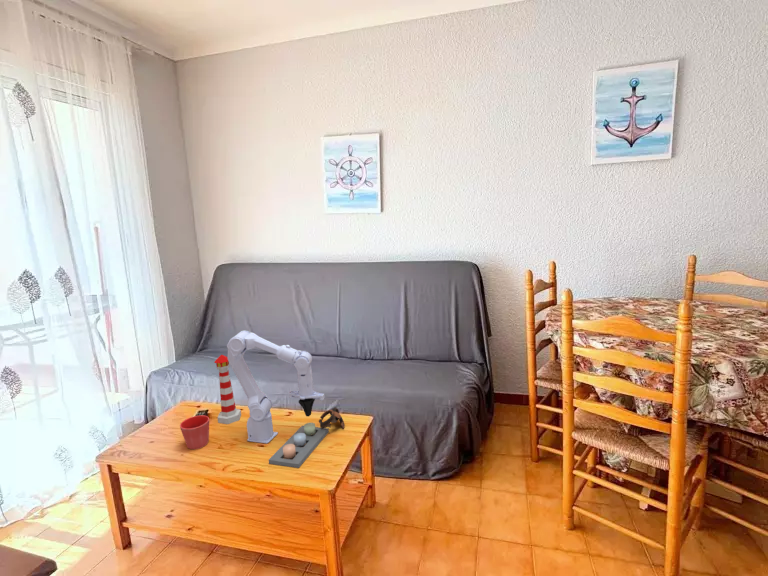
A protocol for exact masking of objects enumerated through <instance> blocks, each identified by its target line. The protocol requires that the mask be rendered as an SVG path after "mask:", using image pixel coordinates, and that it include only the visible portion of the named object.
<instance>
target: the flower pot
mask: <svg viewBox="0 0 768 576" xmlns="http://www.w3.org/2000/svg"><path fill="white" fill-rule="evenodd" d="M179 427H180V431H181V434H182V436H183V439H184V442H185V444H186V447H187V448H188V449H190V450H198V449H201V448H204V447H205V446H207V444H208V443H209V438H210V418H209V416H207V415H203V414H202V415H195V416H191V417H188V418H186V419H184V420H183V421H182V422H180V425H179Z"/></svg>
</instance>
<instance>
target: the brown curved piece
mask: <svg viewBox="0 0 768 576" xmlns="http://www.w3.org/2000/svg"><path fill="white" fill-rule="evenodd" d="M328 415H330V416H329V417H328V419H326V420H325V421H324V418H326V416H328ZM337 422H339V423H340V426H341V428H342V430H343V429H345V422H344V419H343V417H342V415H341V414H340V411H339V409H338V408H337V407H333V408H332V409H328V410H326V411H324V412H323V413H322V415H321V416H320V417H319V420H318V423H319V427H320V428H331V424H335V423H337Z"/></svg>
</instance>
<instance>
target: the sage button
mask: <svg viewBox="0 0 768 576" xmlns="http://www.w3.org/2000/svg"><path fill="white" fill-rule="evenodd" d="M303 426H304V433H305V435H306V436H314V435H315V434H316V430H315V427H316V424H315V423H314V422H307V423H305V424H304V425H303Z"/></svg>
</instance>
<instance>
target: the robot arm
mask: <svg viewBox="0 0 768 576" xmlns="http://www.w3.org/2000/svg"><path fill="white" fill-rule="evenodd" d="M226 348H227V357H228V361H229V366H230V367H231V369H232V371H233V372H234V375H235V376H236V379H237V380H238V383H239V384H240V386H241V389H242V390H243V392H244V394H245V396H246V398H247V408H248V411H249V417H248V418H247V422H246V430H247V432H246V433H247V440H246V441H247V442H252V443H253V442H254V443H262V444H268V443H270V442H271V441H272V440H273V439H274V438H275V437H276V436H277V435H278V434H279V432H278V431H274V427H273V419H272V418H273V417H272V412H271V409H272V407H273V401H272V399H270V398H269V397H268V396H267V394H266V393H265V392H264V391H261V389H260V386H259V385H258V383H257V381H256V379H255V378H254V376H253V374H252V372H251V370H250V368H249V366H248V364H247V362H246V361H245V358H244V356H245V353H246V351H248V350H253V349H259V350H263V351H264V352H268V353H270V354H274V355H275V356H276V357H277V359H278V360H280V361H283V362H285V363H288V364H290V365H293V366H294V368H295V369H296V372H297V373H296V376H297V385H298V386H297V387H298V390H296V391H295V390H293V391H290V392H289V393H288V396H289V398H290V399H292V398H298V399H299V400H298V404H299V405H300V406H301V409H303V412H304V415H305V416H306V417H310V416H311V415H312V412H313V411H312V410H313V406H314V403H315V401H316V400H320V401H324V400H325V393H322V392H321V393H320V392H318V391H315V390H314V380H313V370H312V364H311V363H312V361H313V357H312V356H313V355H312V354H311V353H310V352H308V351H307V350H301V349H300V350H298V349H296V348H293V347H291V345H289V344H286V345H285V344H283V345H278V344H277V343H273V342H271V341H269V340H267V339H265V338H263V337H260V336H259V335H258V334H256V333H254V332H251V331H249V330H244V329H243V330H241V331H239V332H238V333H237V334H236V335H234V336H233V337H231V338H229V341H228V343H227V344H226Z"/></svg>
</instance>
